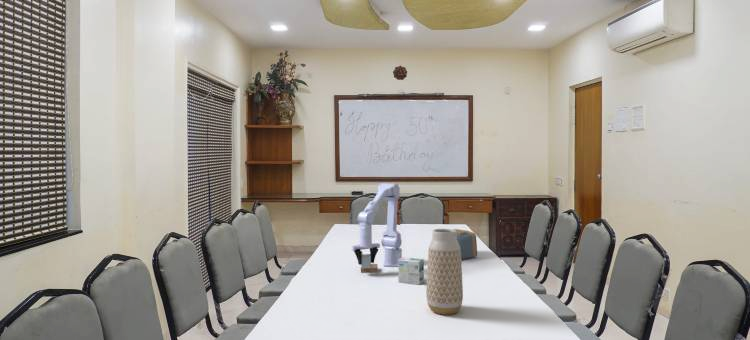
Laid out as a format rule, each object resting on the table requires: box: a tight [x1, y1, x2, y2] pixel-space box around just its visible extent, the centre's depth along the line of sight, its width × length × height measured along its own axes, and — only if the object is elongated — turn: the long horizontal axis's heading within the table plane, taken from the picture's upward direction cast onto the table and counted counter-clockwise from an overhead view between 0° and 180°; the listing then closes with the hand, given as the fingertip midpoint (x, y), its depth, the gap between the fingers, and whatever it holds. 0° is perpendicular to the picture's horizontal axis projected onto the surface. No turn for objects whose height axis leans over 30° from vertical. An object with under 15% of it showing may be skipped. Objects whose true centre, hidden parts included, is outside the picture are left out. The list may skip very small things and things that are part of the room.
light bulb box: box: [397, 256, 425, 286], centre depth 213 cm, size 11×7×11 cm, turn 65°
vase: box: [425, 228, 464, 316], centre depth 174 cm, size 14×14×31 cm
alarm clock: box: [452, 228, 478, 261], centre depth 263 cm, size 16×16×16 cm
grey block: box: [360, 253, 372, 269], centre depth 225 cm, size 4×4×6 cm
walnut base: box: [360, 263, 378, 274], centre depth 234 cm, size 8×8×3 cm
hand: (366, 263), depth 226 cm, fingers closed on grey block, 6 cm apart
